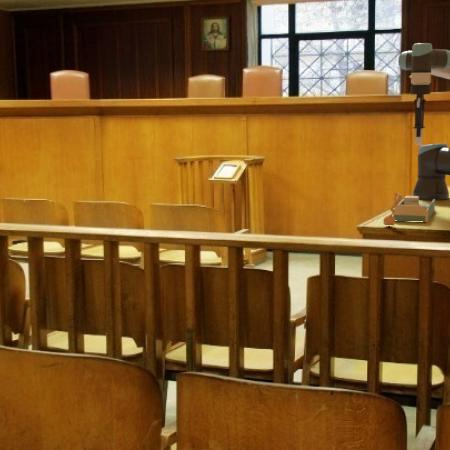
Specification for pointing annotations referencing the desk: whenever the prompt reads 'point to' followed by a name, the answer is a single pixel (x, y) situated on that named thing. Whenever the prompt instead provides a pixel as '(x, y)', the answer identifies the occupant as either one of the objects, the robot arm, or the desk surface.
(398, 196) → the figurine
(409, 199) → the birch block
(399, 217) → the box
